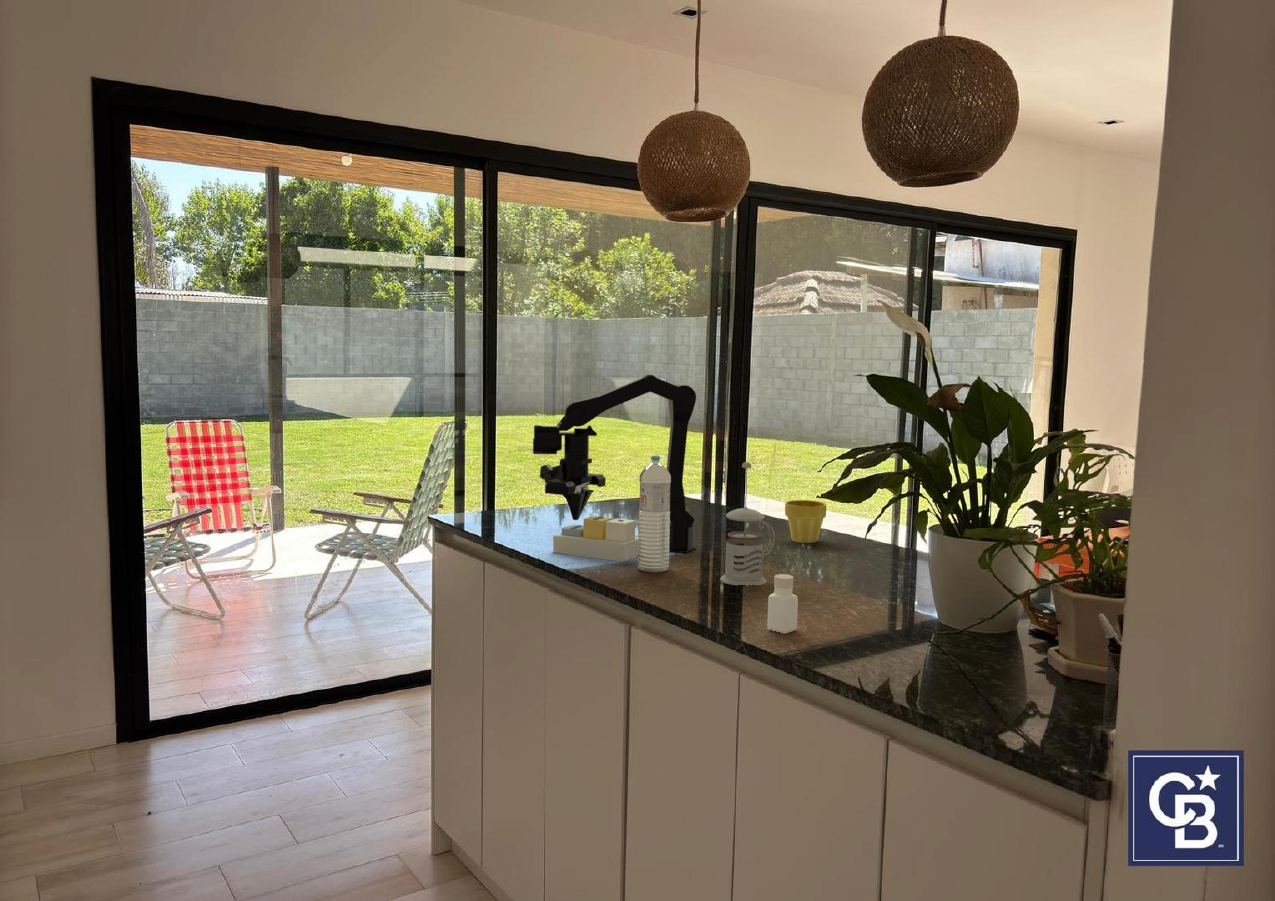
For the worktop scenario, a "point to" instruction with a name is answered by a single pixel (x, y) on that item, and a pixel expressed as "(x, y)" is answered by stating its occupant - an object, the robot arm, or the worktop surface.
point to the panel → (595, 547)
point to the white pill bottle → (782, 605)
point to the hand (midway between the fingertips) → (575, 519)
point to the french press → (745, 548)
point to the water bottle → (654, 518)
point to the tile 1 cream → (620, 530)
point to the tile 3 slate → (573, 530)
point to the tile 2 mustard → (595, 527)
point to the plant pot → (805, 519)
